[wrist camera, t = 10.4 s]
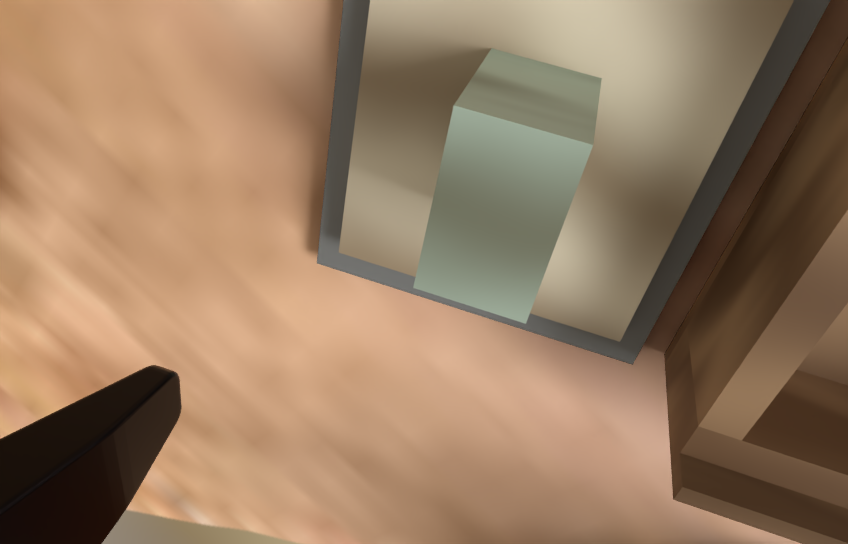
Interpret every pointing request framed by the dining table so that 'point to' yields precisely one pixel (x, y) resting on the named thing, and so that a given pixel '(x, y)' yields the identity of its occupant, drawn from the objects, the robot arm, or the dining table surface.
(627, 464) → the dining table surface
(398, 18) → the cover plate
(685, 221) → the rubber mat
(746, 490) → the walnut box
